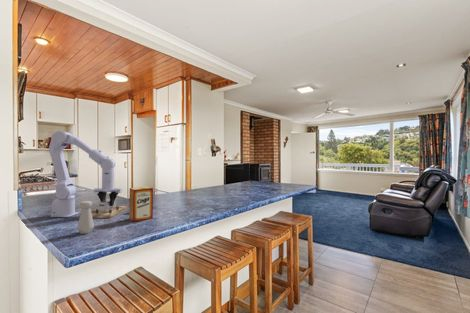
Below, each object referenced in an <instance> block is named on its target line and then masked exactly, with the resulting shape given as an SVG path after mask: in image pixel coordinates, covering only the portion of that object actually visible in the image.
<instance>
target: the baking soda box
mask: <svg viewBox="0 0 470 313" xmlns="http://www.w3.org/2000/svg"><path fill="white" fill-rule="evenodd" d="M128 201H129V203H128V204H129V206H128V207H129V208H128V209H129V214H128V215H129V218H128V219H129V220H130V221H131V222H132V223H133V222H141V221H146V220H151V219H153V218H154V216H153V214H154V188H153V187H151V186H140V187H139V186H138V187H130V188H129V200H128Z"/></svg>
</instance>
